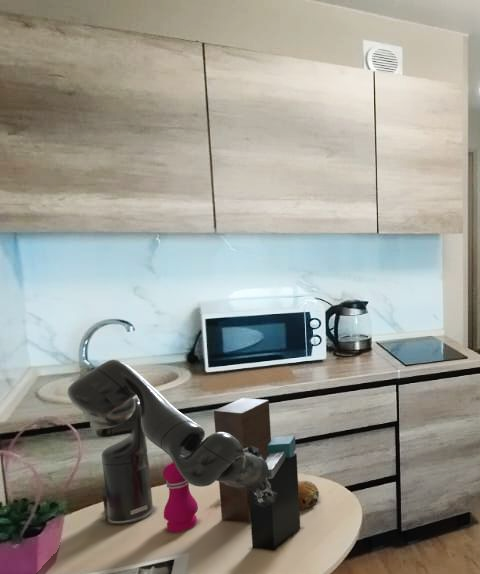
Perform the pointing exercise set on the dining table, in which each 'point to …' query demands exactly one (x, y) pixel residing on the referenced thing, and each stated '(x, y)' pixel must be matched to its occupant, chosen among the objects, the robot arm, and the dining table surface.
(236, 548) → the dining table surface
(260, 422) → the plinth
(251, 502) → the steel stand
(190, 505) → the pepper mill
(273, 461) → the handle bar
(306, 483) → the bread roll
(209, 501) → the dining table surface
